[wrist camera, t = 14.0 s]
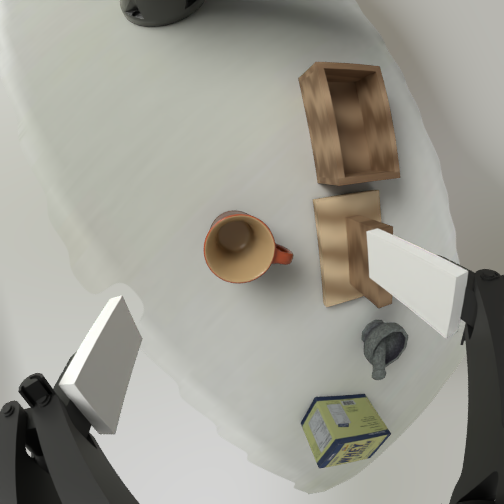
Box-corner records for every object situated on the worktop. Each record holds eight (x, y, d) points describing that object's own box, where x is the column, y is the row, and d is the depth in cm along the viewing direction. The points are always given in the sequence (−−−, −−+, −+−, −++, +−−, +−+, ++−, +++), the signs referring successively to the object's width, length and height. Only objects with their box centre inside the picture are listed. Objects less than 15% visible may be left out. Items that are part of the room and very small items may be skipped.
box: (298, 78, 37) (315, 62, 30) (355, 79, 38) (379, 66, 31) (317, 182, 43) (339, 185, 35) (373, 175, 44) (400, 177, 36)
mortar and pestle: (387, 304, 52) (420, 332, 41) (394, 334, 55) (423, 362, 44) (343, 332, 52) (371, 367, 41) (353, 360, 55) (378, 393, 44)
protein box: (349, 418, 62) (371, 458, 48) (299, 423, 59) (317, 469, 44) (365, 392, 60) (392, 433, 45) (314, 396, 57) (337, 445, 42)
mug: (199, 252, 43) (196, 275, 33) (213, 198, 41) (213, 206, 31) (270, 268, 46) (286, 294, 36) (286, 218, 44) (308, 231, 34)
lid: (311, 199, 44) (345, 209, 32) (371, 189, 45) (416, 197, 33) (322, 301, 49) (351, 336, 38) (376, 285, 50) (412, 313, 39)
